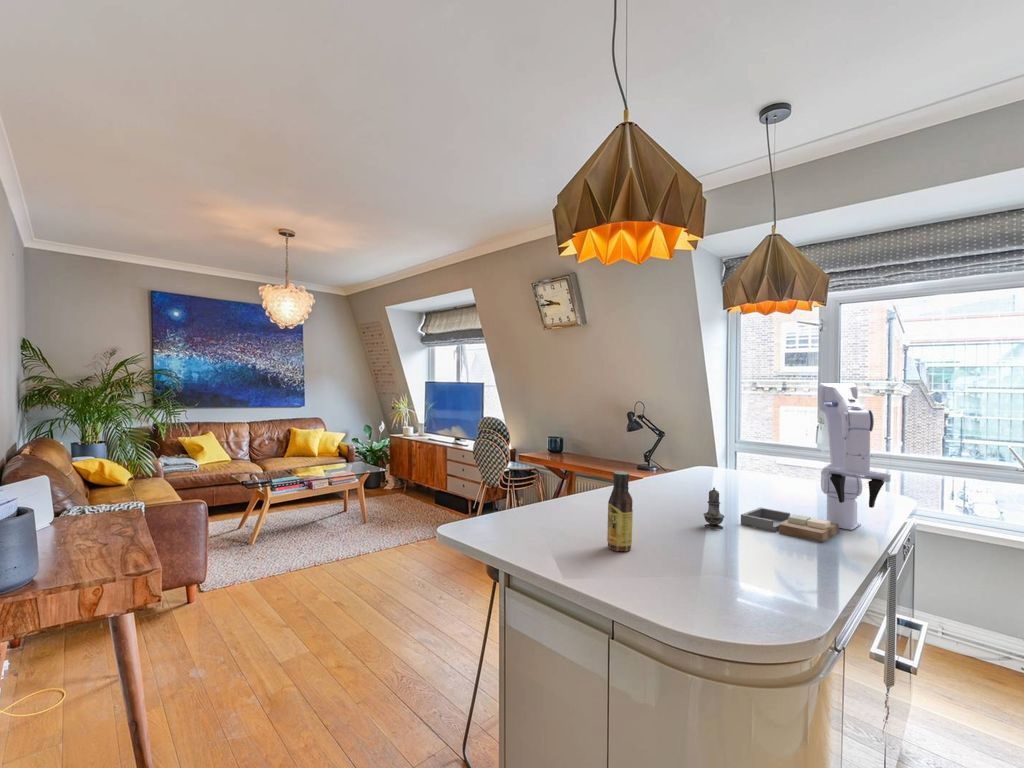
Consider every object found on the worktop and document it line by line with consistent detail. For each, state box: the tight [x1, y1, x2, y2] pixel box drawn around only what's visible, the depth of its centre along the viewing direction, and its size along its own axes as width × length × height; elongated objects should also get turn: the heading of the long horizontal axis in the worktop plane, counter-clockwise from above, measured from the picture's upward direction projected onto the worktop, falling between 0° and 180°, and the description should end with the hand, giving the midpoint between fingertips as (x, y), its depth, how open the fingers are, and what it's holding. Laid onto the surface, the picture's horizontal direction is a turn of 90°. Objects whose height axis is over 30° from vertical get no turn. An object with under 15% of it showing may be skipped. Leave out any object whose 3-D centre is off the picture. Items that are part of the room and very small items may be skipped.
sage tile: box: [788, 513, 812, 525], centre depth 144 cm, size 4×4×2 cm
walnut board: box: [778, 521, 840, 543], centre depth 142 cm, size 14×11×2 cm
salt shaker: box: [702, 487, 725, 530], centre depth 147 cm, size 6×6×12 cm
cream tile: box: [807, 517, 830, 529], centre depth 140 cm, size 4×4×2 cm
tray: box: [740, 507, 791, 533], centre depth 151 cm, size 14×10×3 cm
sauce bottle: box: [606, 470, 634, 553], centre depth 127 cm, size 6×6×20 cm
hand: (856, 504), depth 134 cm, fingers open, 6 cm apart
